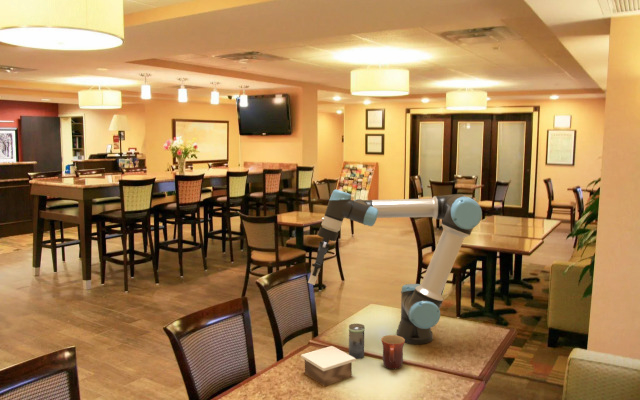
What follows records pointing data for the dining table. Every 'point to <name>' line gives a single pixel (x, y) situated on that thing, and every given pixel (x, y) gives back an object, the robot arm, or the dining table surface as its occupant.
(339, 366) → the pedestal
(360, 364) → the dining table surface
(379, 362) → the dining table surface
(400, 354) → the mug
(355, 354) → the grey can
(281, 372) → the dining table surface
